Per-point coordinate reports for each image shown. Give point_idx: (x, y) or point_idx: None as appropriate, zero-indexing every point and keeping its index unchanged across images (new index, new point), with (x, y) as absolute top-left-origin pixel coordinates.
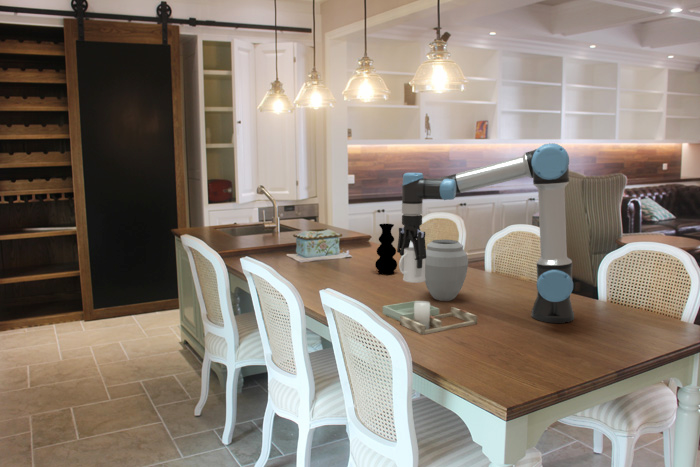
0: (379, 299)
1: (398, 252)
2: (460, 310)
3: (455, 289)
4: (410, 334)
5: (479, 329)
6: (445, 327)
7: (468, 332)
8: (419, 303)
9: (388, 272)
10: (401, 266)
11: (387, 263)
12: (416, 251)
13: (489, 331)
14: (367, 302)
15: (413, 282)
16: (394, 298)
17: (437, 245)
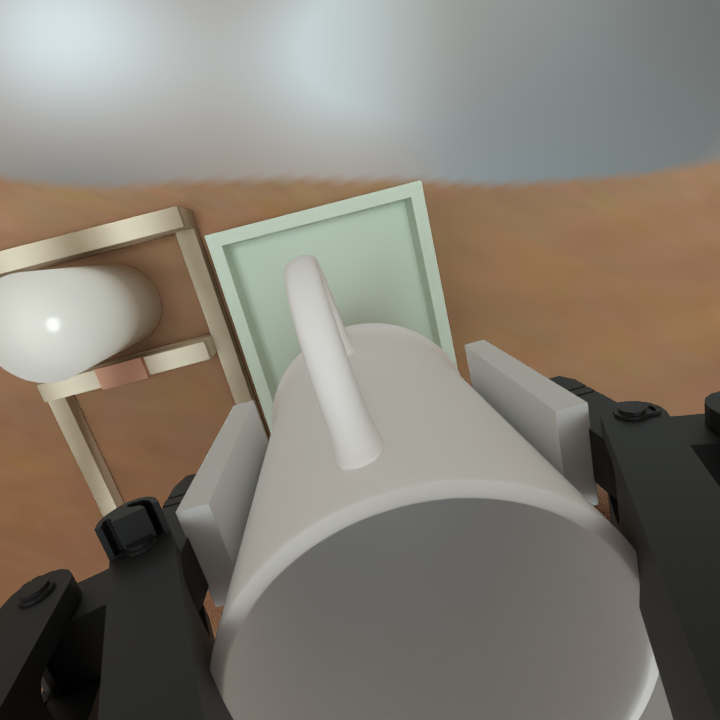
0: (677, 270)
1: (707, 399)
2: None
3: None
4: (3, 199)
5: (50, 543)
6: (50, 404)
7: (10, 484)
8: (22, 304)
9: None
10: (500, 359)
11: None
12: (109, 647)
13: (16, 569)
14: (653, 180)
15: (281, 381)
16: (659, 355)
17: None
